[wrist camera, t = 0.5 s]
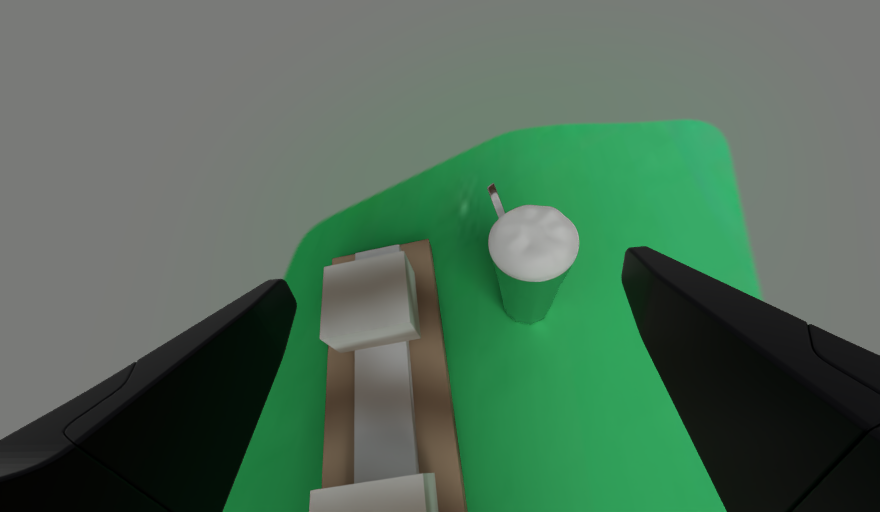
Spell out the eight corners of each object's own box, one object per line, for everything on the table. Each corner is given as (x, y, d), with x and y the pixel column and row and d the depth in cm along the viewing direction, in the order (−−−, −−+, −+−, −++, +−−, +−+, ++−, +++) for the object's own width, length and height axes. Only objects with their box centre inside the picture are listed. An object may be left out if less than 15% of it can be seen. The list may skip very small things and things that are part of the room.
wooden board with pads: (490, 679, 16) (483, 755, 12) (323, 697, 17) (259, 775, 12) (431, 247, 29) (417, 209, 25) (338, 265, 29) (309, 231, 25)
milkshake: (518, 257, 27) (522, 161, 18) (573, 305, 24) (607, 218, 16) (473, 293, 26) (456, 209, 18) (526, 347, 23) (535, 279, 15)
